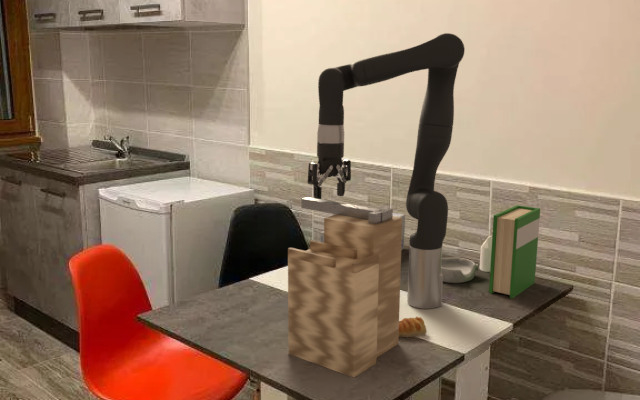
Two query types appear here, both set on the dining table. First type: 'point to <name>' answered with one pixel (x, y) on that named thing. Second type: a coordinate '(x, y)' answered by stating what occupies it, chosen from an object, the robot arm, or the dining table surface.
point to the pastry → (412, 327)
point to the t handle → (348, 210)
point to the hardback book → (514, 250)
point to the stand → (346, 294)
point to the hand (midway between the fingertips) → (329, 197)
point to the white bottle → (486, 255)
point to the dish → (458, 270)
